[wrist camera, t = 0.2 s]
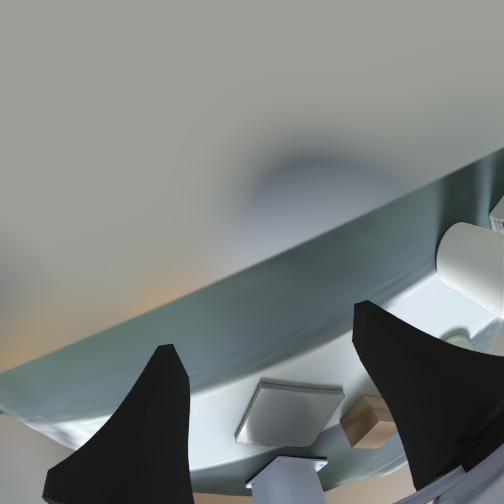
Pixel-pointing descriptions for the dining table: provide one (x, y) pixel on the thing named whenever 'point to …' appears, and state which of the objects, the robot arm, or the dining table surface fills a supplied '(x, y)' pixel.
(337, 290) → the dining table surface
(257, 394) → the slate coaster
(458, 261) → the can
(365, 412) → the walnut block
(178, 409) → the robot arm
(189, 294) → the dining table surface
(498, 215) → the container
